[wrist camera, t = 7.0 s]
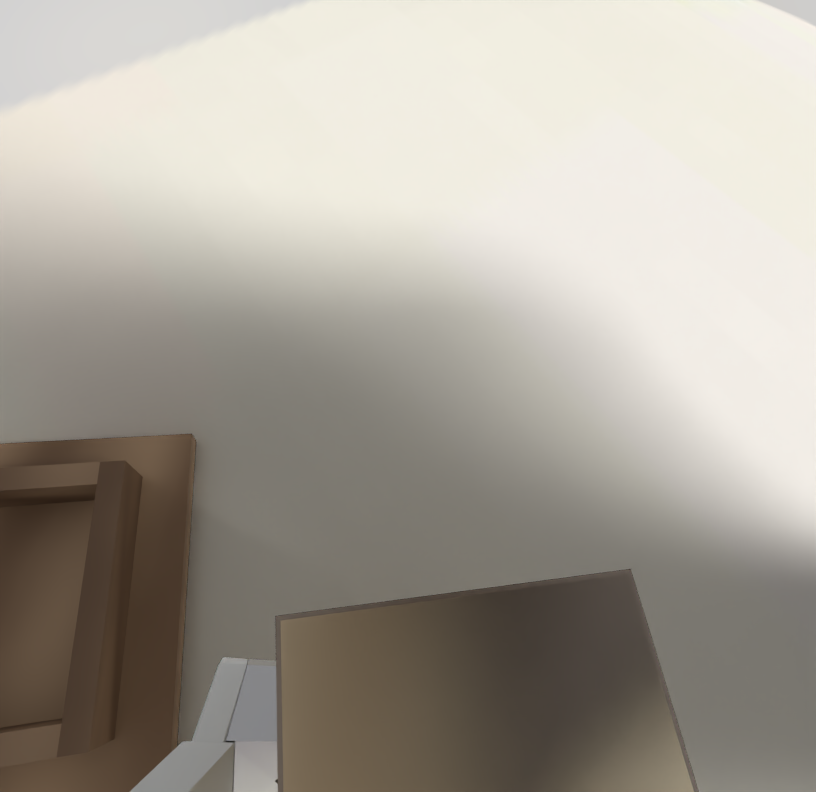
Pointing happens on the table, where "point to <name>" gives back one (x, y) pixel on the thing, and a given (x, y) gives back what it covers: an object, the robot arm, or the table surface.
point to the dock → (92, 609)
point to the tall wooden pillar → (479, 694)
